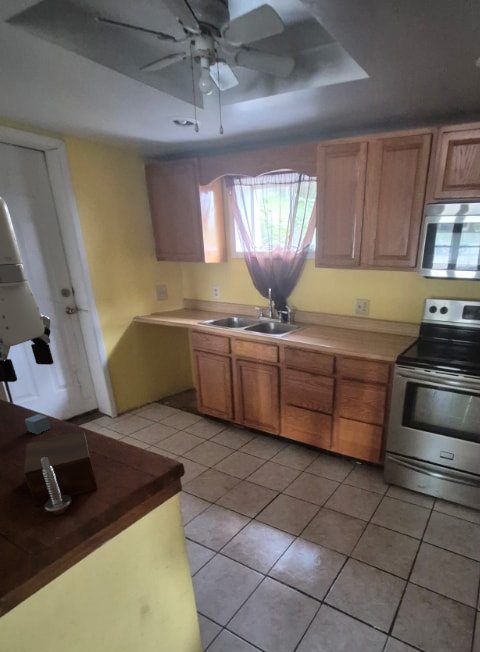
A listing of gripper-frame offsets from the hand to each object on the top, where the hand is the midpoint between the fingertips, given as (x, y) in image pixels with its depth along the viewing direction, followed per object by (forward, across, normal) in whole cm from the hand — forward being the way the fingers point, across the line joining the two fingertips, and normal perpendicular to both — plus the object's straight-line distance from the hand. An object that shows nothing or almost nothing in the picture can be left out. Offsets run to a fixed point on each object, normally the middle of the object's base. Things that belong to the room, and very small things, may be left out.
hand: (27, 372), depth 69 cm
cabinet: (+29, -6, -3) cm, 29 cm away
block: (+29, -30, -26) cm, 49 cm away
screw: (+29, +4, +2) cm, 29 cm away
